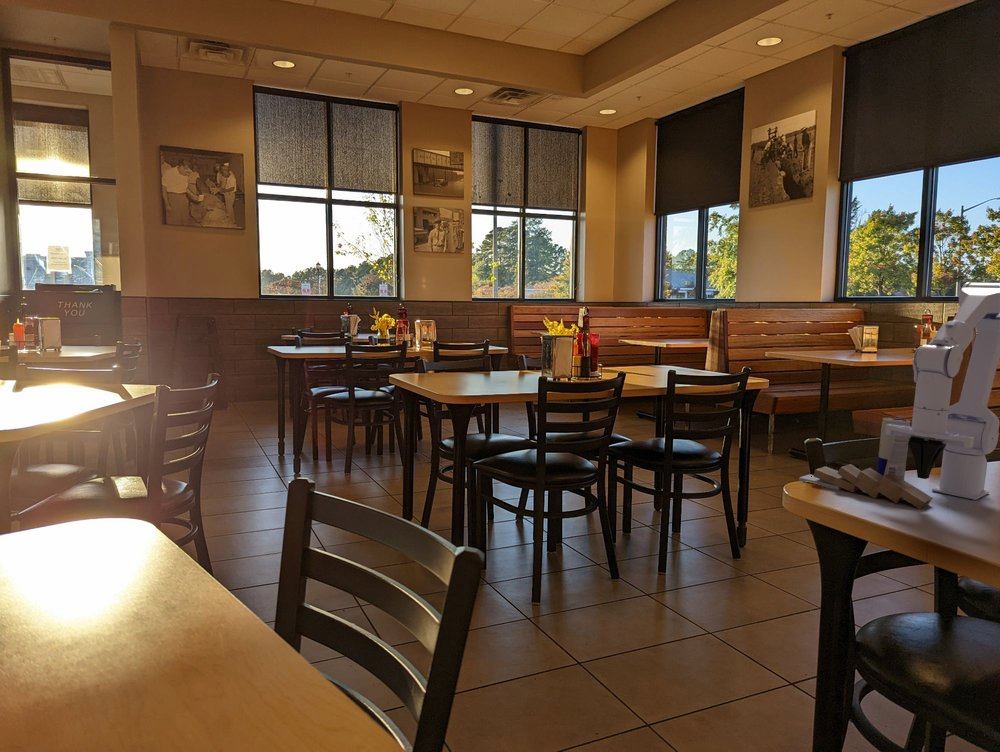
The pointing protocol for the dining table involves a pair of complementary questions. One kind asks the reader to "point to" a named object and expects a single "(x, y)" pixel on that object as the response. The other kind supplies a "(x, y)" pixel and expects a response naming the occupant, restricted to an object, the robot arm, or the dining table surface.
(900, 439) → the white tall box
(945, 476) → the robot arm
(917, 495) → the domino
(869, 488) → the domino
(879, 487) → the domino
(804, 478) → the domino
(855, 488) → the domino
